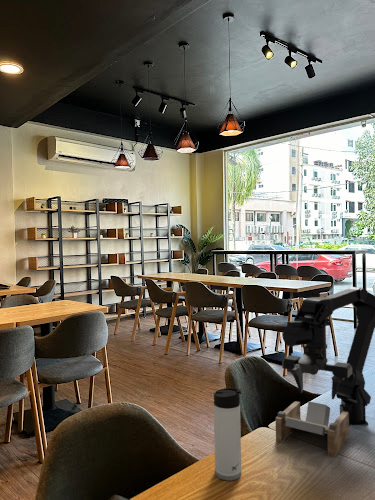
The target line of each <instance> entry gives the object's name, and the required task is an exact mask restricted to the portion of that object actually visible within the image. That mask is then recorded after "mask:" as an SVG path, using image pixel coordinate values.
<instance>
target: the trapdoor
mask: <svg viewBox="0 0 375 500" xmlns="http://www.w3.org/2000/svg"><path fill="white" fill-rule="evenodd" d="M285 420H286V424H285V426H288V427H291V428H295V430H296V429H297V430H300V431H304V432H308V433H312V434H316V435H320V436H324V437H325V433H326V434H327V430H328V429H329V425H328V426H325V425H321V424H316V423H312V422H308V421H306V420H303V419H301V420H299V419H295V418H291V417H286V418H285Z"/></svg>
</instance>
